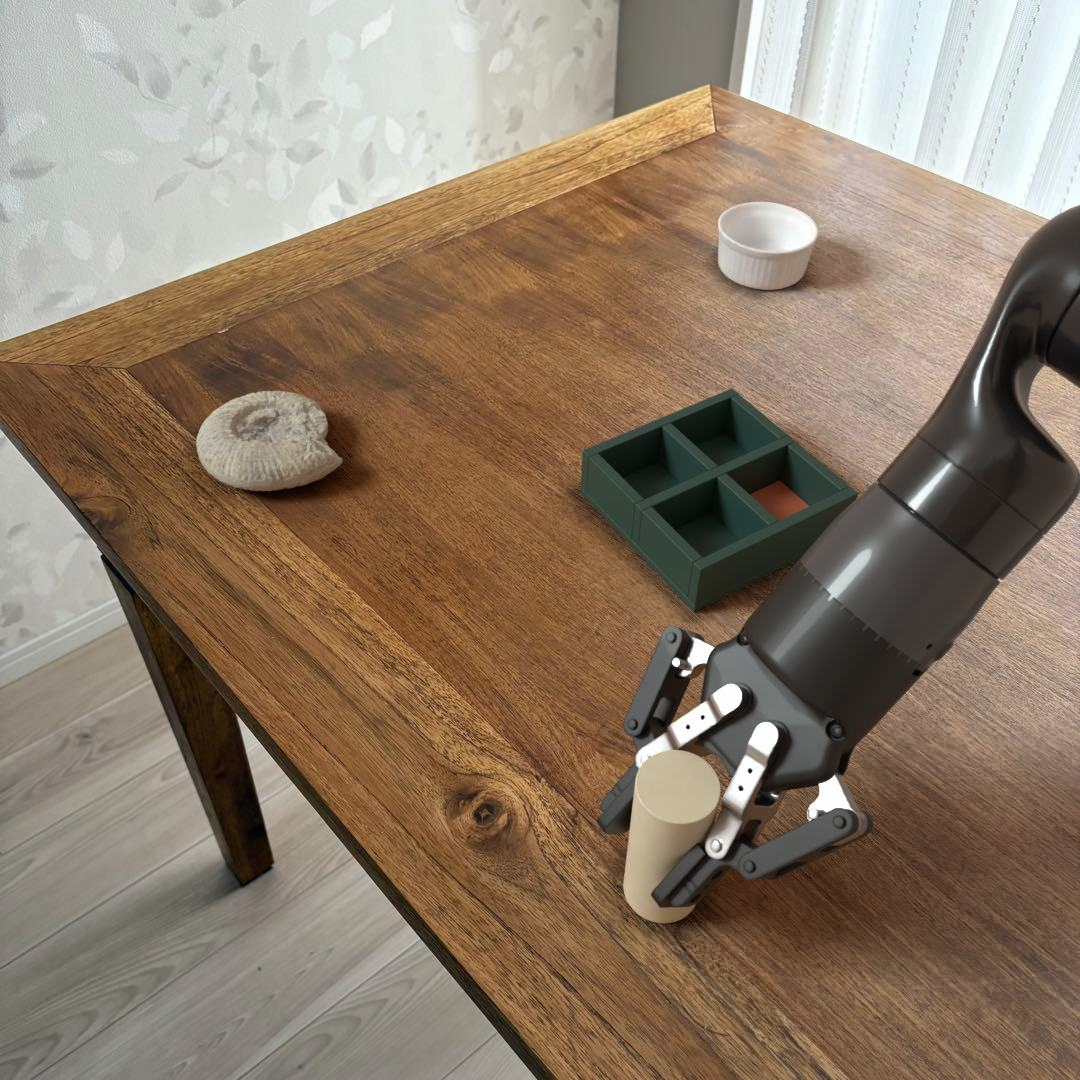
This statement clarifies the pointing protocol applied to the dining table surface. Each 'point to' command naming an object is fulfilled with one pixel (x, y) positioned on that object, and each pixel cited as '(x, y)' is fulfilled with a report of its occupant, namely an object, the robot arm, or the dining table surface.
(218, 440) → the fossil
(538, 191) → the dining table surface
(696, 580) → the grid
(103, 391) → the dining table surface
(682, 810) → the cylinder
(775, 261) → the ramekin
